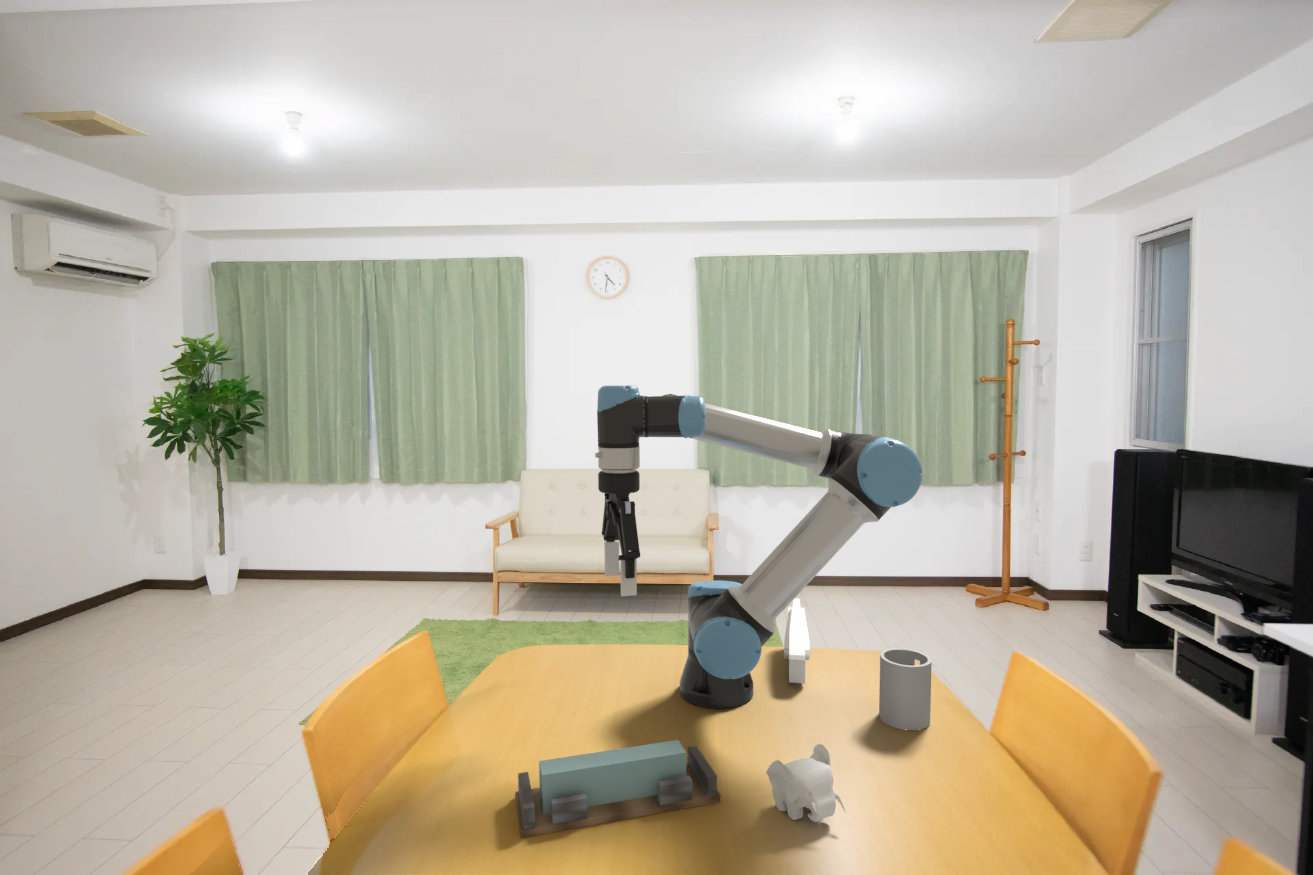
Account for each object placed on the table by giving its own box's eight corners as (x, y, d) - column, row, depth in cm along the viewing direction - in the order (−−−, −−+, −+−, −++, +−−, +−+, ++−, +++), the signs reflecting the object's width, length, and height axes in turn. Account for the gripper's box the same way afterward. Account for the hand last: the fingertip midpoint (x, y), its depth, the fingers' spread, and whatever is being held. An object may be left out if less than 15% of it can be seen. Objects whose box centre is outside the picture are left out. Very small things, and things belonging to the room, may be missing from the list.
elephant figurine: (810, 846, 96) (811, 784, 96) (753, 802, 107) (754, 746, 106) (858, 823, 102) (859, 764, 101) (800, 783, 112) (800, 729, 111)
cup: (877, 725, 130) (878, 662, 130) (881, 704, 139) (882, 645, 138) (929, 734, 127) (931, 669, 126) (930, 712, 135) (931, 651, 135)
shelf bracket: (807, 644, 172) (808, 598, 168) (809, 710, 148) (810, 658, 145) (784, 643, 173) (784, 597, 169) (783, 708, 149) (783, 656, 146)
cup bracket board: (698, 767, 116) (698, 744, 116) (720, 801, 107) (720, 776, 107) (515, 797, 108) (514, 772, 108) (521, 837, 99) (520, 810, 98)
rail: (678, 775, 112) (678, 739, 112) (686, 789, 108) (686, 752, 108) (539, 799, 106) (539, 760, 106) (543, 814, 102) (542, 775, 102)
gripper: (586, 463, 139) (587, 569, 140) (613, 479, 115) (614, 606, 116) (623, 462, 141) (624, 566, 142) (657, 477, 117) (658, 602, 118)
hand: (620, 584), depth 129 cm, fingers open, 13 cm apart
